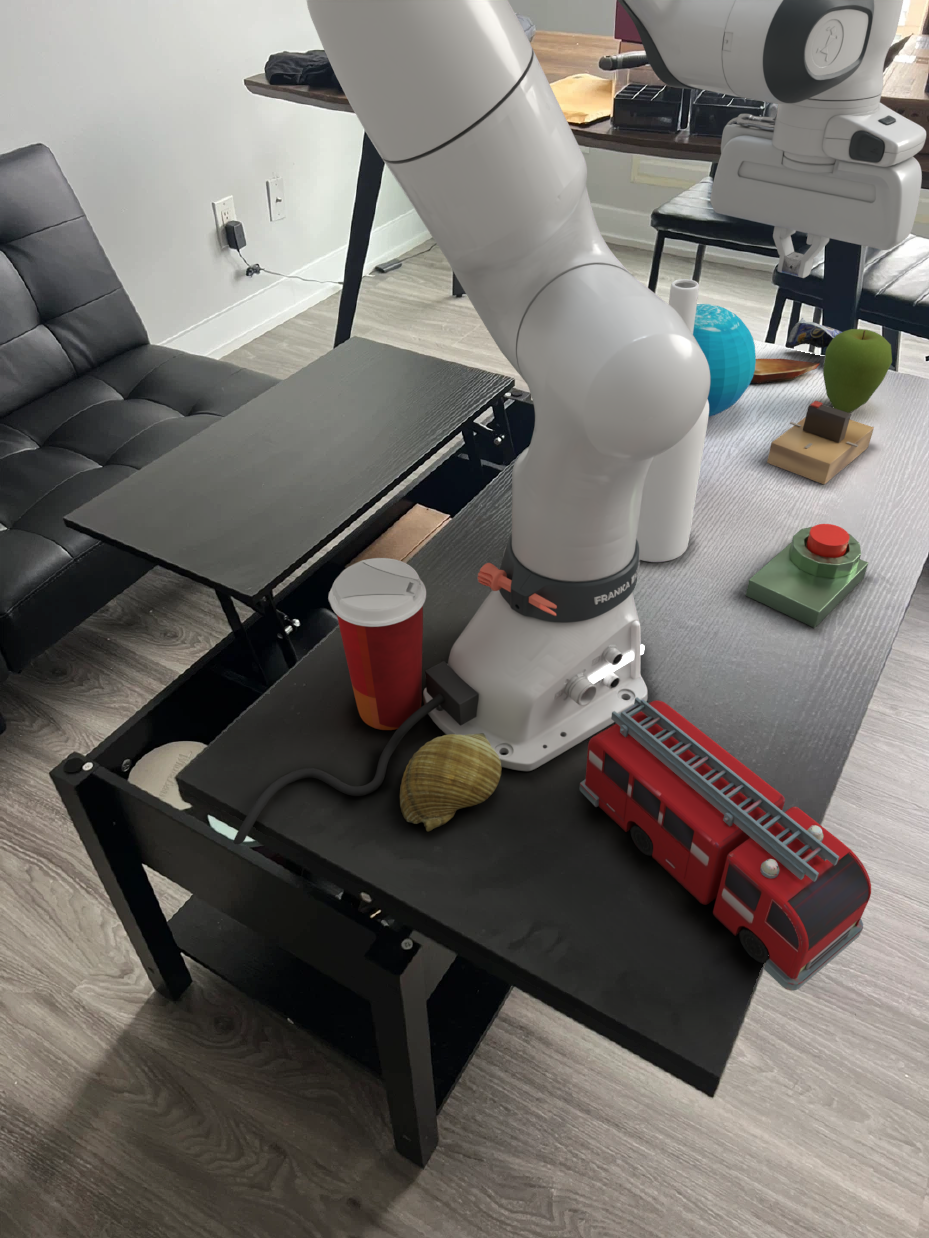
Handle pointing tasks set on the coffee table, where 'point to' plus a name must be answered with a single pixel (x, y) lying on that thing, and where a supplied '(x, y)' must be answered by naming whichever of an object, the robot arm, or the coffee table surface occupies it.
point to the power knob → (826, 421)
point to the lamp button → (827, 540)
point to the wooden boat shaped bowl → (780, 369)
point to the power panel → (818, 451)
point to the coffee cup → (382, 637)
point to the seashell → (448, 778)
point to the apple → (855, 367)
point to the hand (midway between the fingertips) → (793, 273)
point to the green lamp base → (807, 580)
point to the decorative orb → (724, 354)
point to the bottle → (673, 468)
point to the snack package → (811, 335)
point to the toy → (729, 840)
